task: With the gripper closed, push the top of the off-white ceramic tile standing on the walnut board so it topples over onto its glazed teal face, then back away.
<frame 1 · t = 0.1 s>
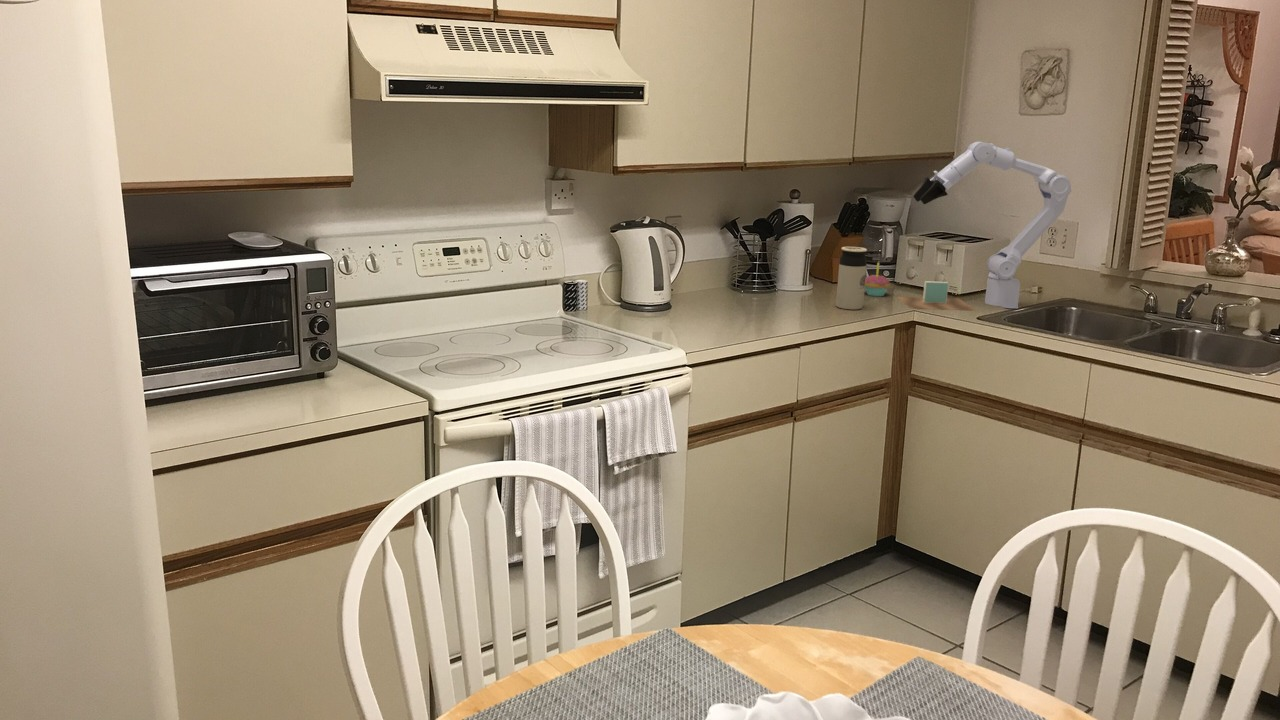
hand: (918, 200, 308), 32 cm above the worktop, fingers open, 7 cm apart
cupcake: (874, 297, 325), on the worktop
board: (935, 306, 313), on the worktop
travel mug: (849, 308, 307), on the worktop
tile: (934, 302, 314), point 1 cm above the worktop, touching board
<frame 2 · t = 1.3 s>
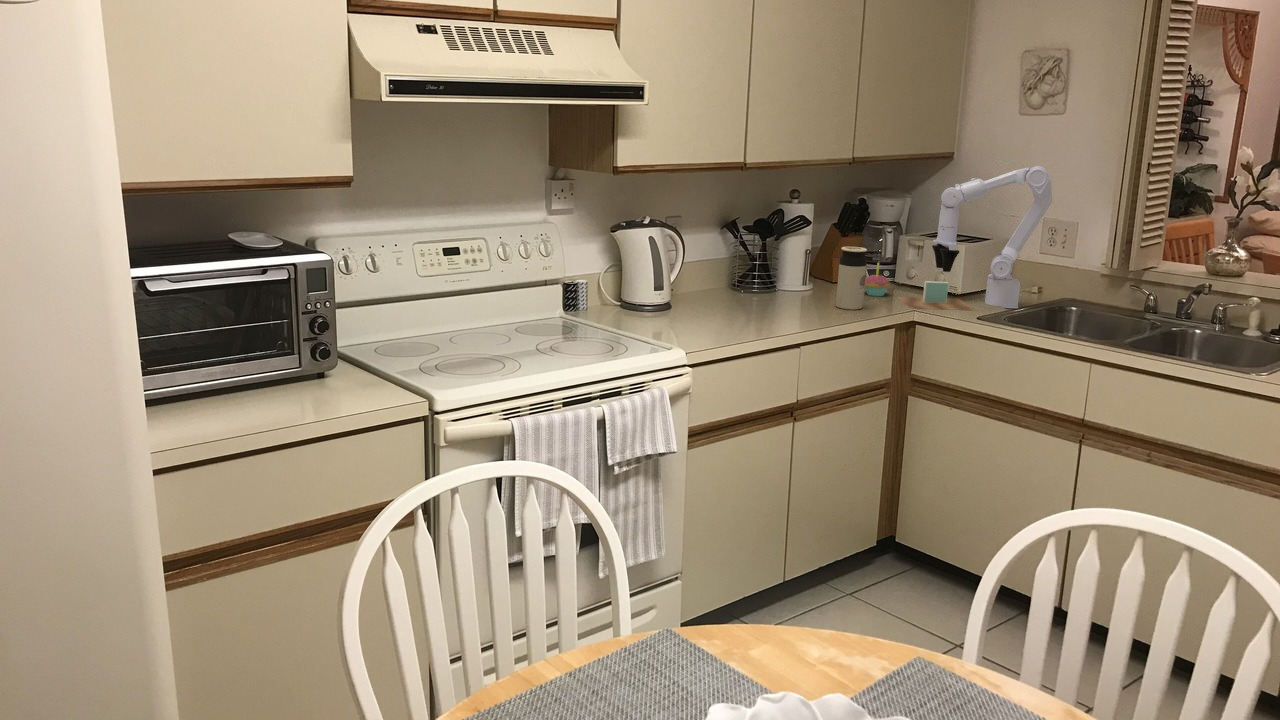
hand: (943, 269, 319), 10 cm above the worktop, fingers open, 6 cm apart
nothing on the worktop moved.
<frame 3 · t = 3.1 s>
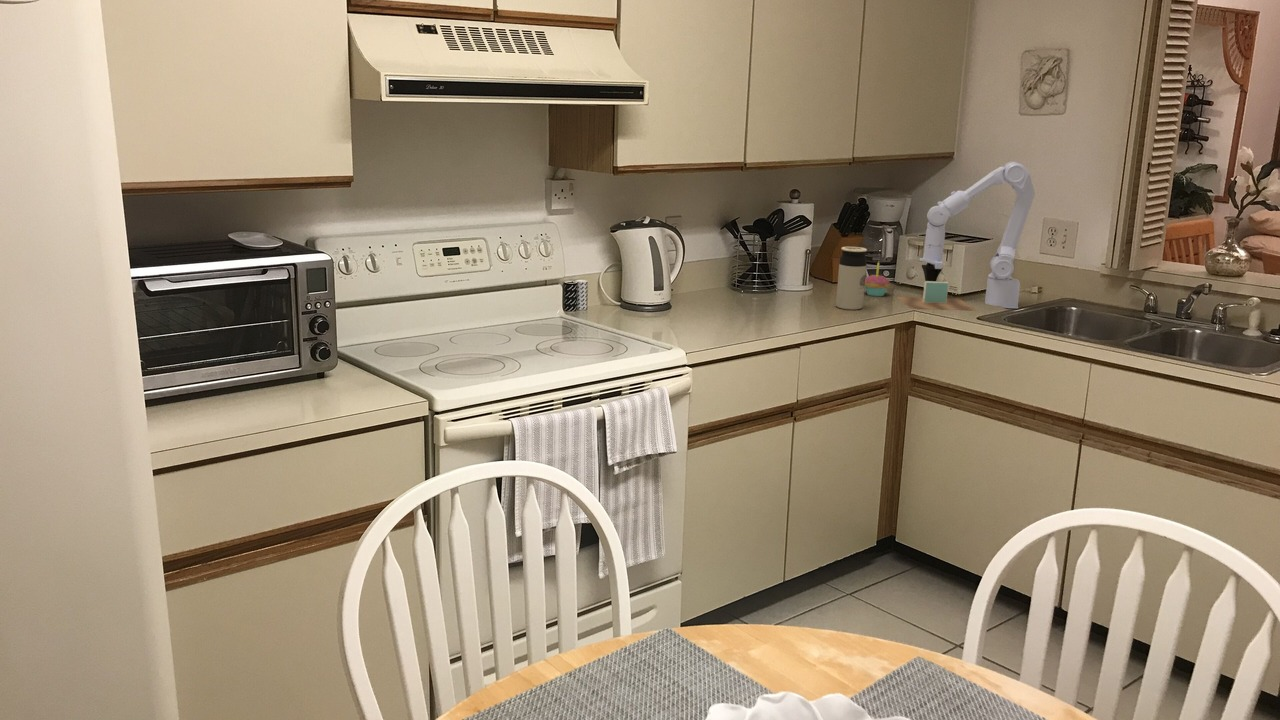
hand: (929, 287, 320), 4 cm above the worktop, fingers closed
nothing on the worktop moved.
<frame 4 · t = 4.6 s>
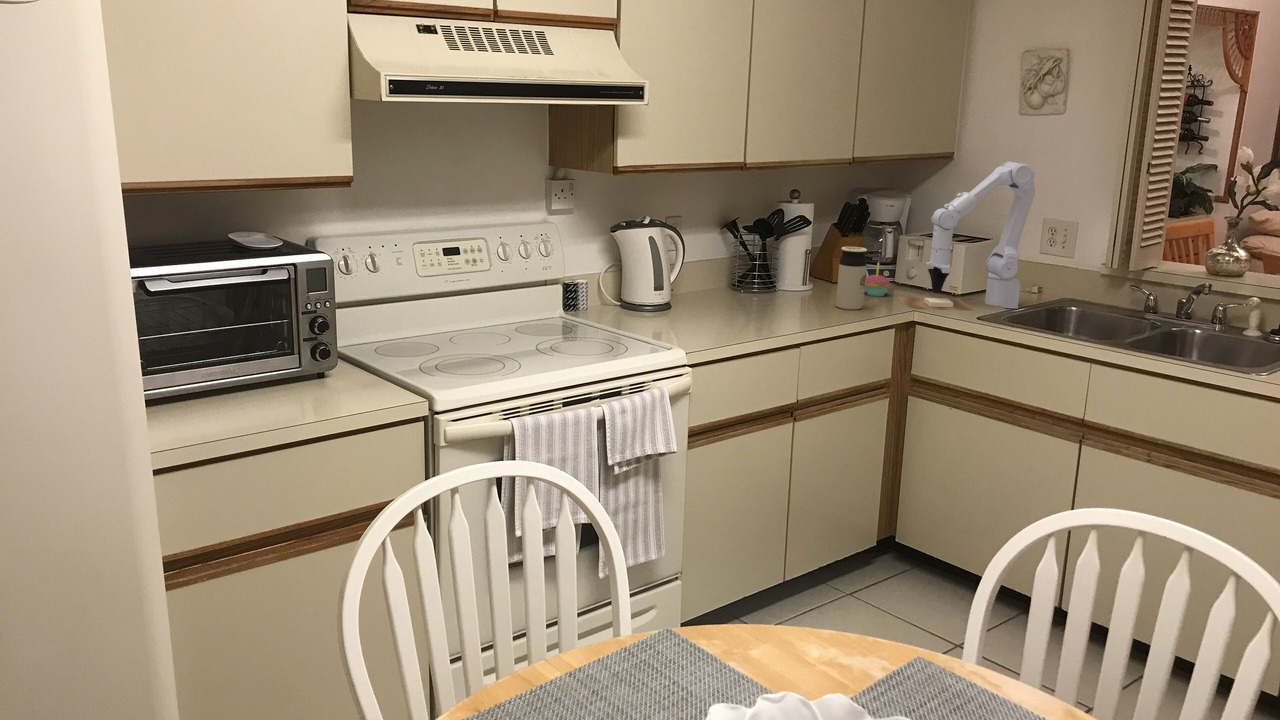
hand: (936, 292, 313), 4 cm above the worktop, fingers closed
tile: (935, 300, 313), point 2 cm above the worktop, tilted 90°, touching board
everything else where it was.
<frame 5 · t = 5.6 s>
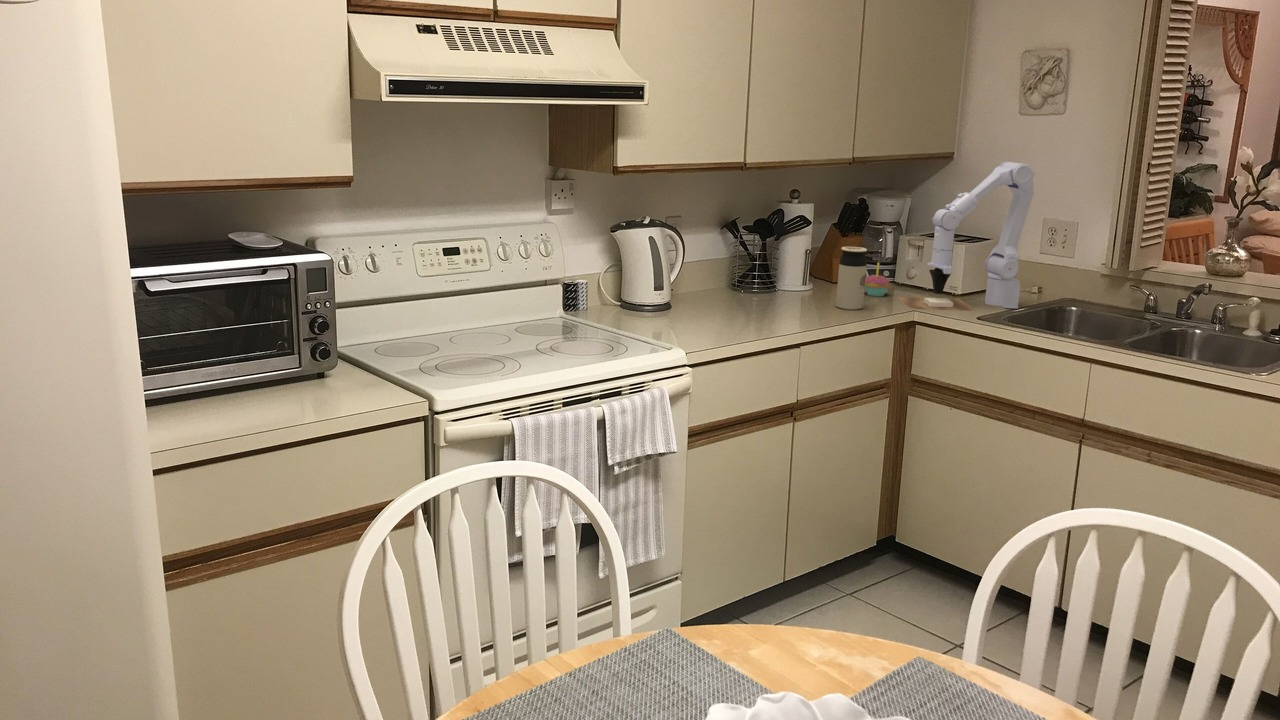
hand: (937, 293, 311), 4 cm above the worktop, fingers closed
nothing on the worktop moved.
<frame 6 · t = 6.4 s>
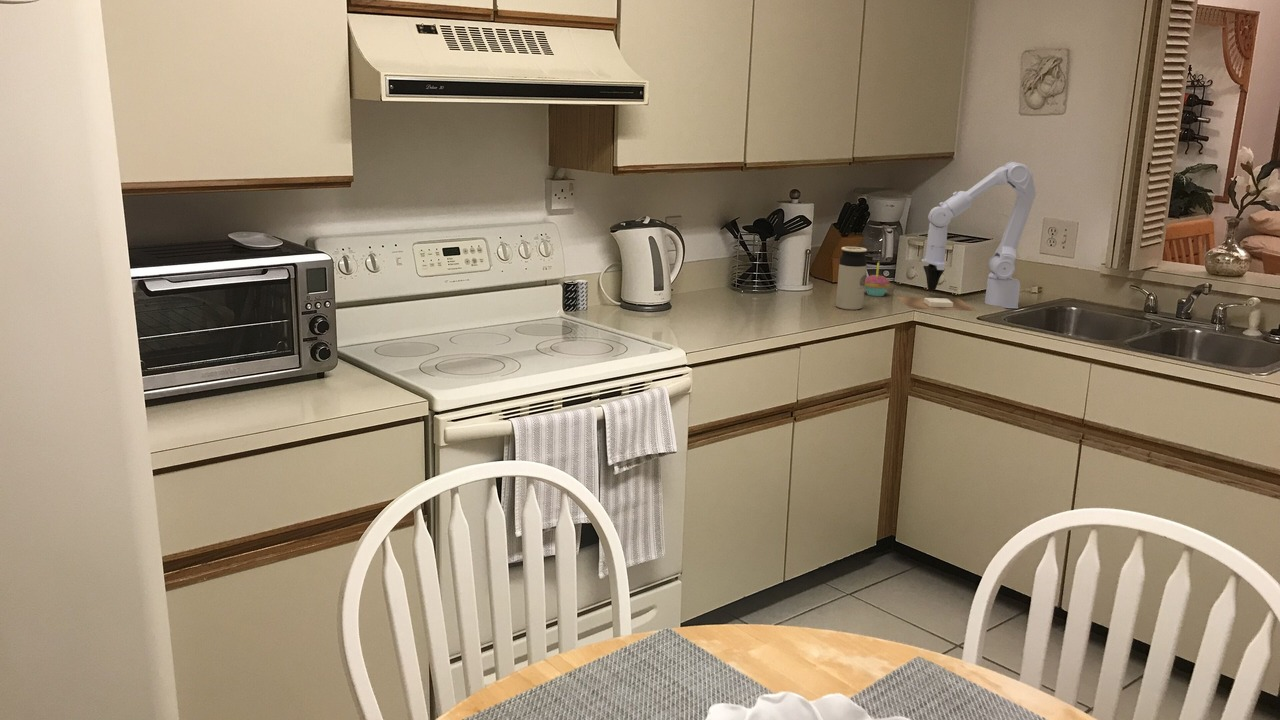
hand: (931, 289, 318), 4 cm above the worktop, fingers closed
nothing on the worktop moved.
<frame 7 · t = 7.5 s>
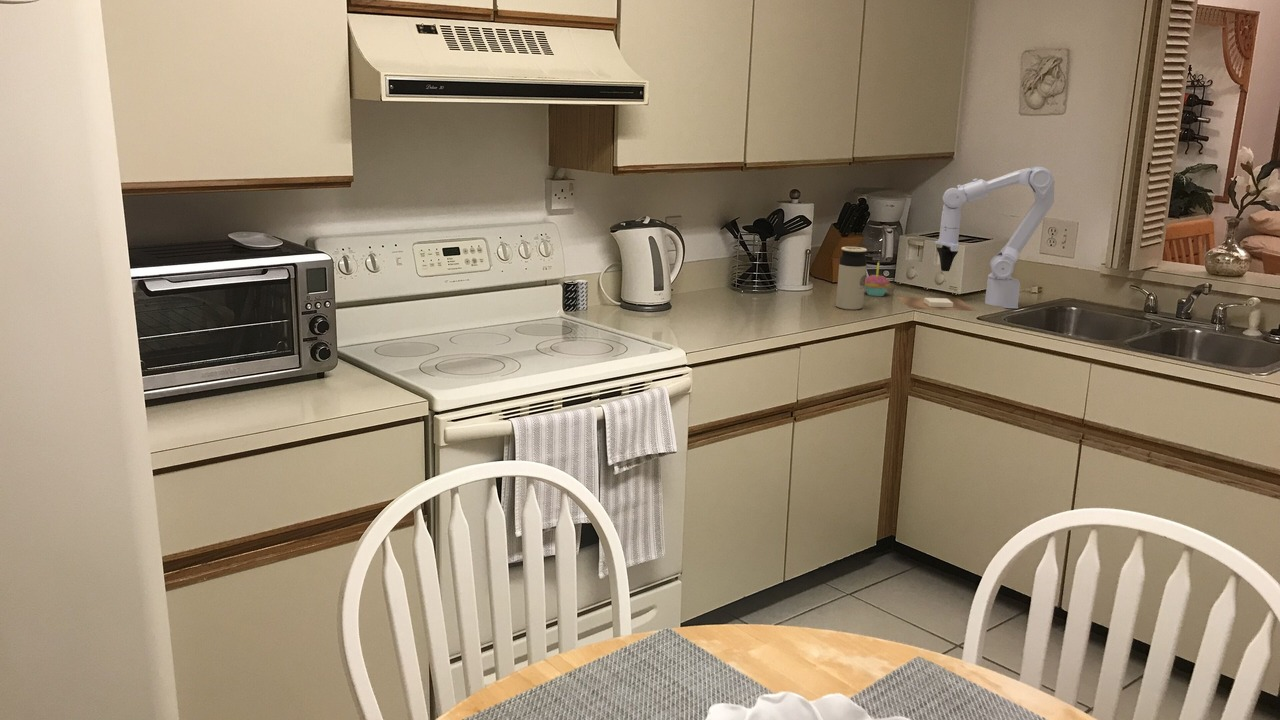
hand: (945, 270, 317), 10 cm above the worktop, fingers closed
nothing on the worktop moved.
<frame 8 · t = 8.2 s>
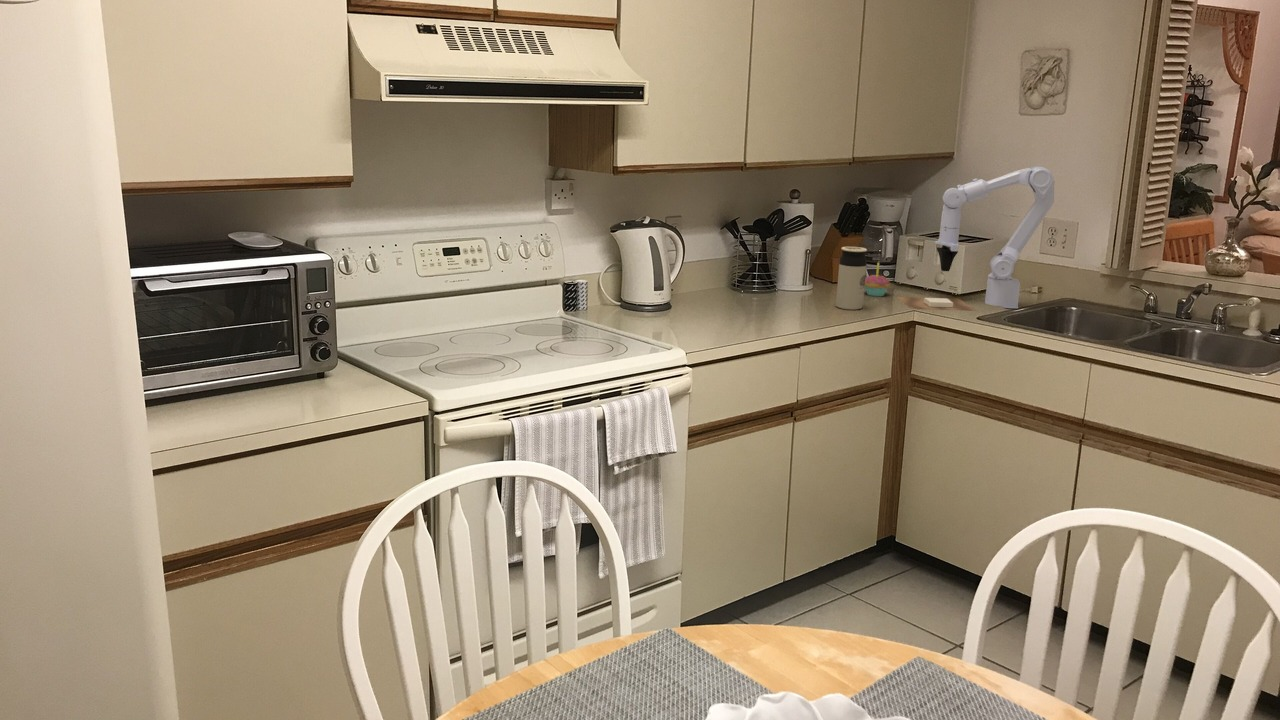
hand: (945, 270, 317), 10 cm above the worktop, fingers closed
nothing on the worktop moved.
at the end: tile tilted 90°; tile inside the target area on the board (1.7 cm from its centre), point 1.6 cm above the board's base; tile touching board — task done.
